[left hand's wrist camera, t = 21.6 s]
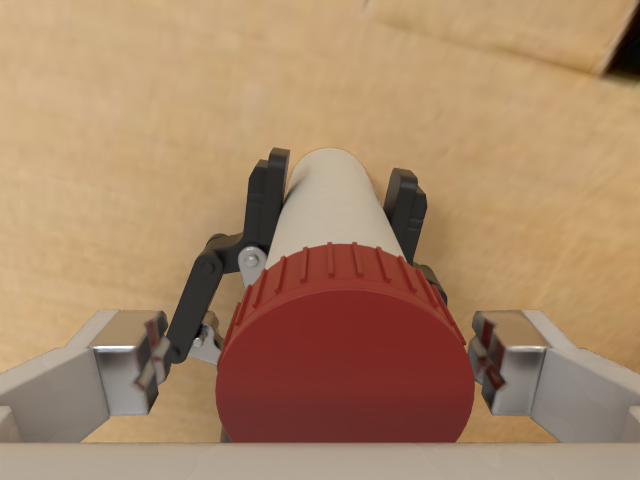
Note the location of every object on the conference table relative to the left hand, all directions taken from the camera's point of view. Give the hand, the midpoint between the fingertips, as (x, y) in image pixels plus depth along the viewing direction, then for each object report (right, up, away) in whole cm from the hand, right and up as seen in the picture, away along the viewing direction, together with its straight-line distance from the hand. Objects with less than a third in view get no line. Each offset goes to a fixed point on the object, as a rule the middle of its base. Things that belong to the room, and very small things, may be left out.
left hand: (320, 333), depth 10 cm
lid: (0, -1, -2) cm, 2 cm away
